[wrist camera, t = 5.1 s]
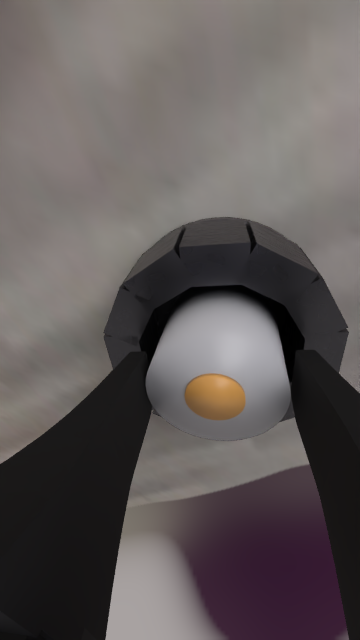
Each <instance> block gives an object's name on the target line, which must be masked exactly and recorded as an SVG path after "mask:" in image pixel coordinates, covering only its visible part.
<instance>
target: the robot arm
mask: <svg viewBox="0 0 360 640" xmlns="http://www.w3.org/2000/svg"><path fill="white" fill-rule="evenodd" d="M148 369H149V363H148V359H147V354H146V351H141V352H130V353H129V354H128V355H127V356H126V357H125V358H124V359H123V360H122V361H121V362H120V363H119V364H118V365H117V366H116V367H115V368H114V369H113V371H112V372H111V373H110V374H109V375H108V376H107V377H106V378H105V379H104V380H103V381H102V382H101V383H100V384H99V385H98V386H97V387H96V388H95V389H94V390H93V391H92V392H91V393H90V394H89V395H88V396H87V397H86V398H85V399H84V400H83V401H82V402H81V403H80V404H78V405H77V406H76V407H75V408H74V409H73V410H72V411H71V412H70V413H69V414H67V415H66V416H65V417H64V418H63V419H62V420H60V421H59V422H58V423H57V424H55V425H54V426H53V427H52V428H50V429H49V430H48V431H47V432H45V433H44V434H43V435H41V436H40V437H39V438H37V439H36V440H35V441H33V442H32V443H30V444H29V445H27V446H26V447H25V448H23V449H22V450H20V451H19V452H18V453H16V454H15V455H13V456H12V457H11V458H9V459H8V460H6V461H4V462H3V463H1V464H0V640H105V638H106V630H107V623H108V616H109V609H110V602H111V594H112V587H113V581H114V575H115V569H116V563H117V556H118V549H119V544H120V539H121V533H122V527H123V522H124V516H125V511H126V506H127V501H128V496H129V491H130V486H131V482H132V478H133V474H134V470H135V467H136V464H137V460H138V457H139V453H140V450H141V447H142V443H143V440H144V436H145V433H146V429H147V426H148V423H149V419H150V415H151V409H152V404H151V402H150V400H149V398H148V395H147V392H146V376H147V372H148ZM291 399H292V404H293V409H294V414H295V419H296V423H297V426H298V429H299V432H300V435H301V438H302V442H303V445H304V448H305V451H306V454H307V457H308V460H309V463H310V466H311V469H312V472H313V475H314V479H315V481H316V485H317V488H318V492H319V496H320V499H321V503H322V508H323V512H324V516H325V521H326V526H327V530H328V535H329V539H330V544H331V549H332V554H333V558H334V563H335V567H336V573H337V578H338V583H339V588H340V593H341V598H342V604H343V609H344V614H345V619H346V624H347V630H348V635H349V640H360V393H359V392H357V391H356V390H355V389H354V388H353V387H352V386H351V385H350V384H349V383H348V382H347V381H346V380H345V379H344V378H343V377H342V376H341V375H340V374H339V373H338V372H337V371H336V370H335V369H334V368H333V367H332V366H331V365H330V364H329V363H328V362H327V361H326V360H325V359H324V358H323V357H322V356H321V355H320V354H319V353H318V352H317V351H316V350H296V354H295V362H294V369H293V377H292V384H291Z"/></svg>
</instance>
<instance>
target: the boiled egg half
mask: <svg viewBox="0 0 360 640" xmlns="http://www.w3.org/2000/svg"><path fill="white" fill-rule="evenodd" d="M146 392H147V395H148V398H149V400H150V402H151V404H152V406H153V407H154V409H155V410H156V411H157V412H158V413H159V415H160V416H162V417H163V418H164V419H165V420H166V421H167V422H169V423H170V424H171V425H173V426H175V427H176V428H178V429H180V430H182V431H184V432H186V433H189V434H191V435H194V436H197V437H201V438H205V439H211V440H221V441H233V440H242V439H247V438H251V437H254V436H257V435H260V434H262V433H264V432H266V431H268V430H269V429H271V428H272V427H274V426H275V425H276V424H277V423H278V422H279V421H280V420H281V419H282V418H283V417H284V415H285V414H286V412H287V410H288V408H289V404H290V400H291V391H290V384H289V379H288V374H287V369H286V364H285V360H284V355H283V350H282V345H281V340H280V335H279V330H278V325H277V320H276V316H275V313H274V310H273V308H272V307H271V305H270V304H269V302H268V301H267V300H266V299H265V297H264V296H263V295H261V294H260V293H258V292H256V291H254V290H252V289H249V288H247V287H245V286H243V285H223V286H201V287H191V288H190V289H188V290H187V291H185V292H184V293H183V294H182V295H181V296H180V297H179V298H178V299H177V301H176V302H175V304H174V305H173V308H172V310H171V312H170V315H169V318H168V320H167V323H166V325H165V328H164V330H163V333H162V336H161V338H160V341H159V343H158V346H157V348H156V351H155V354H154V356H153V359H152V361H151V364H150V366H149V369H148V372H147V376H146Z"/></svg>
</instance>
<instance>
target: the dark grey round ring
mask: <svg viewBox="0 0 360 640" xmlns="http://www.w3.org/2000/svg"><path fill="white" fill-rule="evenodd" d="M223 285H243V286H245V287H247V288H249V289H252V290H254V291H256V292H258V293H260V294H261V295H263V296H264V297H265V299H266V300H267V301H268V302H269V304H270V305H271V307H272V308H273V310H274V313H275V316H276V320H277V325H278V330H279V335H280V340H281V345H282V350H283V355H284V360H285V364H286V369H287V374H288V379H289V384H290V391H291V384H292V377H293V369H294V362H295V354H296V350H316V351H317V352H318V353H319V354H320V355H321V356H322V357H323V358H324V359H325V360H326V361H327V362H328V363H329V364H330V365H331V366H332V367H333V368H334V369H335V370H336V371H337V372H338V373H339V370H340V365H341V361H342V357H343V353H344V349H345V345H346V341H347V337H348V333H349V332H348V330H347V329H346V328H348V326H347V324H346V322H345V320H344V318H343V316H342V314H341V312H340V310H339V309H338V307H337V305H336V303H335V301H334V299H333V297H332V295H331V293H330V291H329V289H328V287H327V285H326V283H325V281H324V279H323V278H322V276H321V275H320V273H319V272H318V271H317V269H316V268H315V267H314V265H313V264H312V263H311V261H310V260H309V259H308V257H307V256H306V254H305V253H304V252H303V250H302V249H301V248H299V246H298V245H297V244H296V243H294V242H292V241H290V240H288V239H287V238H285V237H284V236H283V235H282V234H280V233H278V232H277V231H275V230H273V229H272V228H269V227H267V226H265V225H262V224H260V223H257V222H253V221H250V220H246V219H240V218H231V217H220V218H209V219H203V220H199V221H195V222H192V223H188V224H186V225H183V226H181V227H179V228H177V229H175V230H173V231H172V232H170V233H169V234H167V235H165V236H164V237H163V238H161V239H160V240H159V241H158V242H157V243H155V244H154V245H153V247H152V248H150V249H149V250H148V251H146V252H145V253H143V254H142V256H141V257H140V258H139V260H138V261H137V263H136V264H135V266H134V267H133V269H132V270H131V272H130V273H129V275H128V276H127V278H126V279H125V281H124V282H123V284H122V285H121V287H120V288H119V291H118V294H117V297H116V300H115V302H114V305H113V308H112V311H111V313H110V316H109V319H108V322H107V325H106V327H105V330H104V333H105V335H104V340H105V343H106V347H107V350H108V353H109V357H110V360H111V363H112V367H113V369H114V368H115V367H116V366H117V365H118V364H119V363H120V362H121V361H122V360H123V359H124V358H125V357H126V356H127V355H128V354H129V353H130V352H141V351H146V354H147V359H148V363H149V366H150V364H151V361H152V359H153V356H154V354H155V351H156V348H157V346H158V343H159V341H160V338H161V336H162V333H163V330H164V328H165V325H166V323H167V320H168V318H169V315H170V312H171V310H172V308H173V305H174V304H175V302H176V301H177V299H178V298H179V297H180V296H181V295H182V294H183V293H184V292H185V291H187V290H188V289H190V288H191V287H201V286H223ZM153 409H154V407H153V406H152V409H151V410H153ZM153 414H156V415H158V416H160V415H159V413H158V412H157V411H156V410H155V409H154V411H153ZM161 417H162V416H161ZM294 417H295V414H294V409H293V404H292V399H291V400H290V404H289V408H288V410H287V412H286V414H285V415H284V417H283V418H282V419H281V420H280V421H279V422H281V421H284V420H287V419H291V418H294Z"/></svg>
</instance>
